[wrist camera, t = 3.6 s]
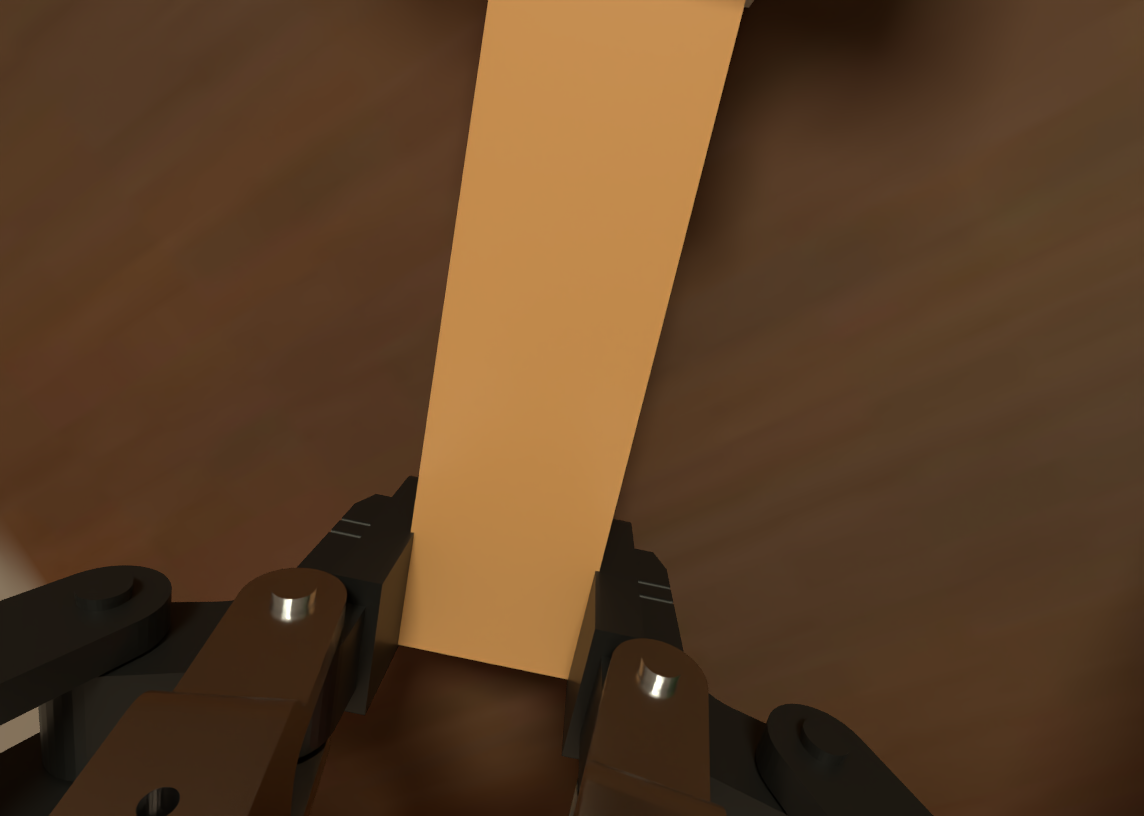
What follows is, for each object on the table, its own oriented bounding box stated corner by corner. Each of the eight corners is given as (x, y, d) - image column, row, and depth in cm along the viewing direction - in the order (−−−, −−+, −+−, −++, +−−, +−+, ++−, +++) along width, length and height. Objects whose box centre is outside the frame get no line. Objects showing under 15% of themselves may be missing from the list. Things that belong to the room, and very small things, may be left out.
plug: (599, 583, 13) (601, 735, 9) (418, 545, 13) (338, 681, 9) (830, -309, 8) (1028, -772, 5) (557, -375, 8) (522, -902, 4)
